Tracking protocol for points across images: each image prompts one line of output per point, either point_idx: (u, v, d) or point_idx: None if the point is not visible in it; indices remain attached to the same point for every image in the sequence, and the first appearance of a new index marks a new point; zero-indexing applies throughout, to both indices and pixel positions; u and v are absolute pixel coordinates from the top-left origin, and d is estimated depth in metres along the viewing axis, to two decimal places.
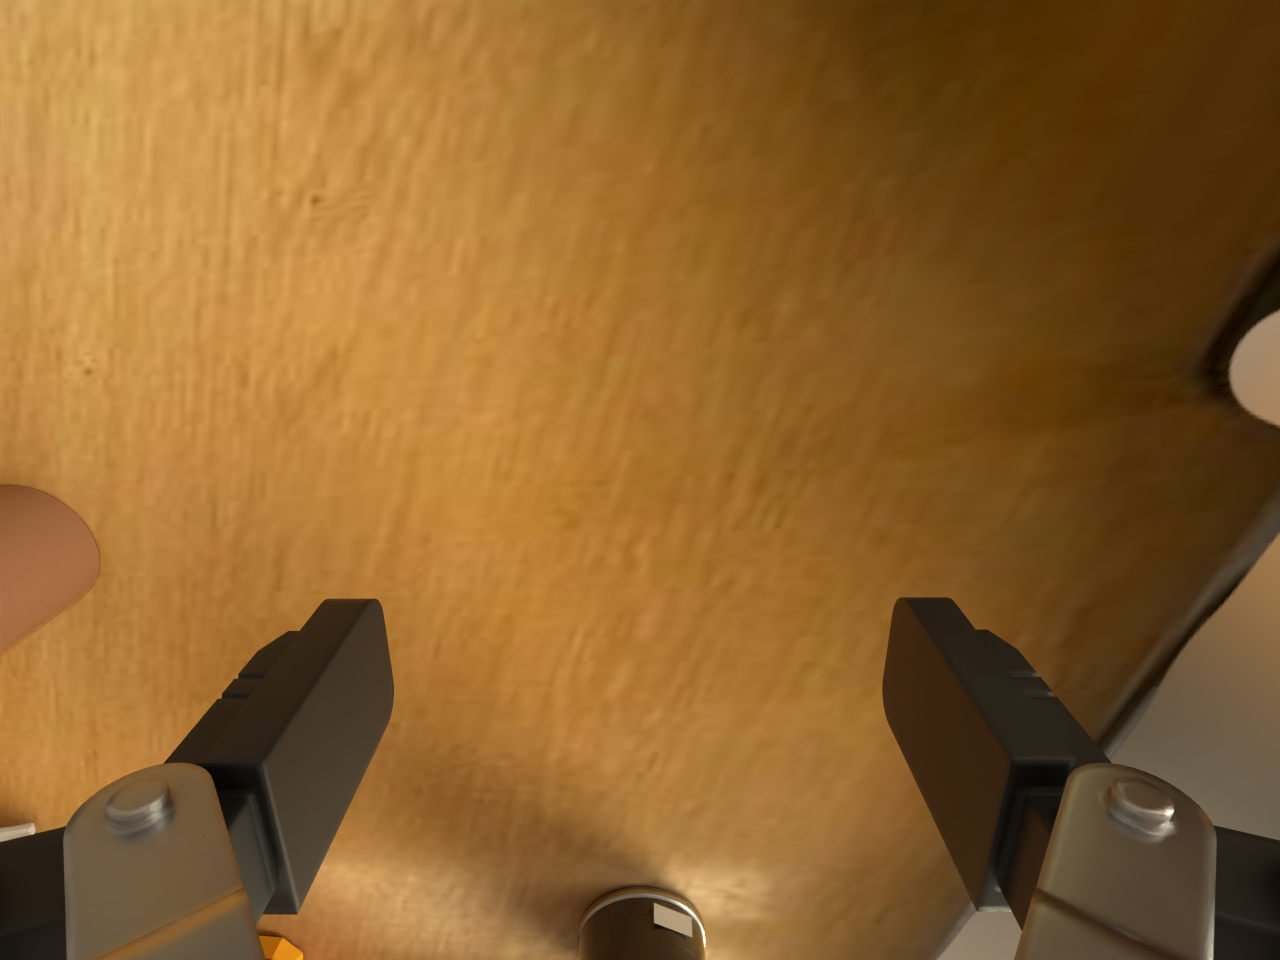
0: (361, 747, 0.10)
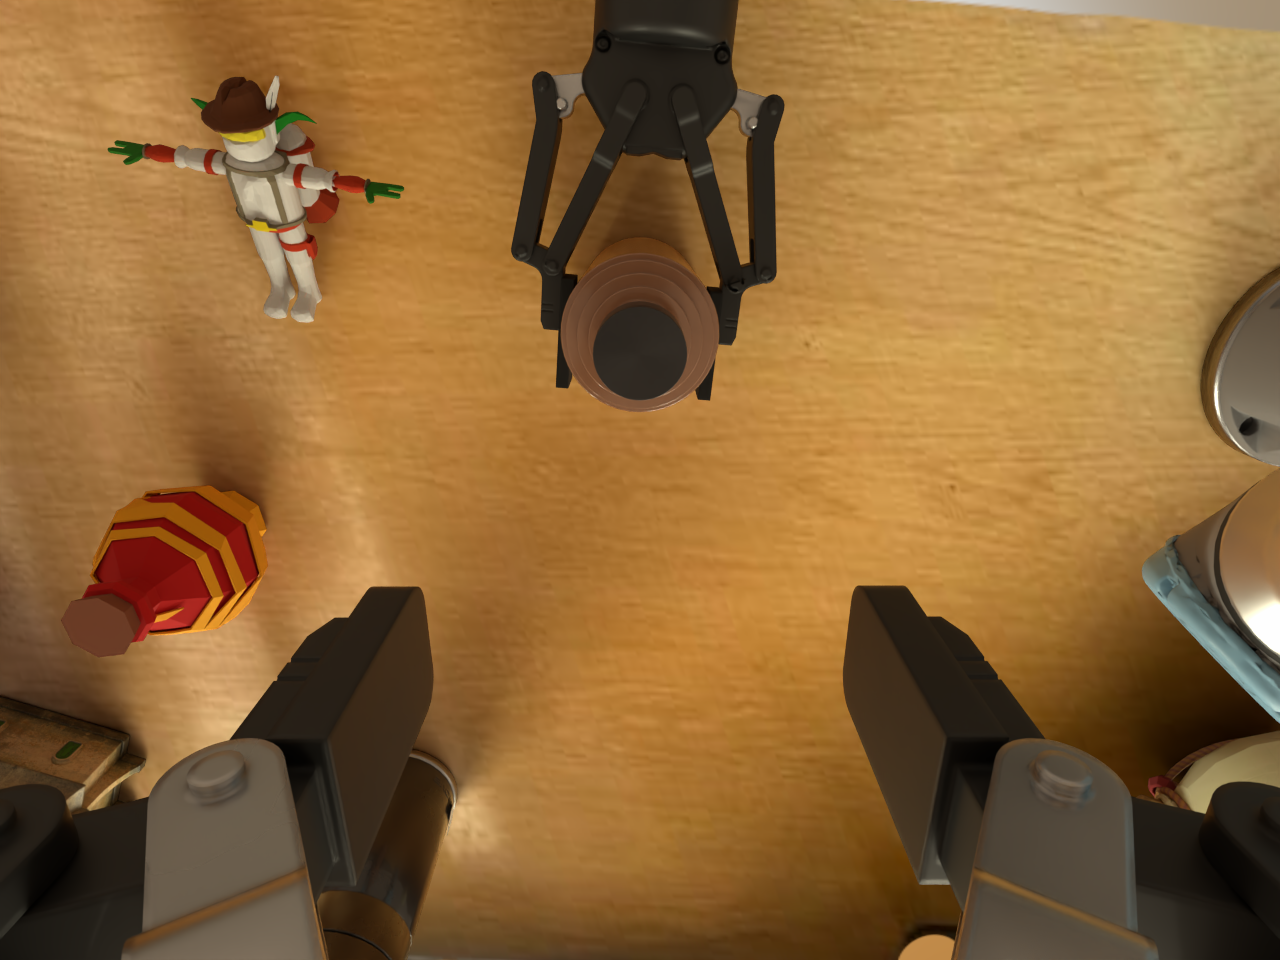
0: (406, 729, 0.11)
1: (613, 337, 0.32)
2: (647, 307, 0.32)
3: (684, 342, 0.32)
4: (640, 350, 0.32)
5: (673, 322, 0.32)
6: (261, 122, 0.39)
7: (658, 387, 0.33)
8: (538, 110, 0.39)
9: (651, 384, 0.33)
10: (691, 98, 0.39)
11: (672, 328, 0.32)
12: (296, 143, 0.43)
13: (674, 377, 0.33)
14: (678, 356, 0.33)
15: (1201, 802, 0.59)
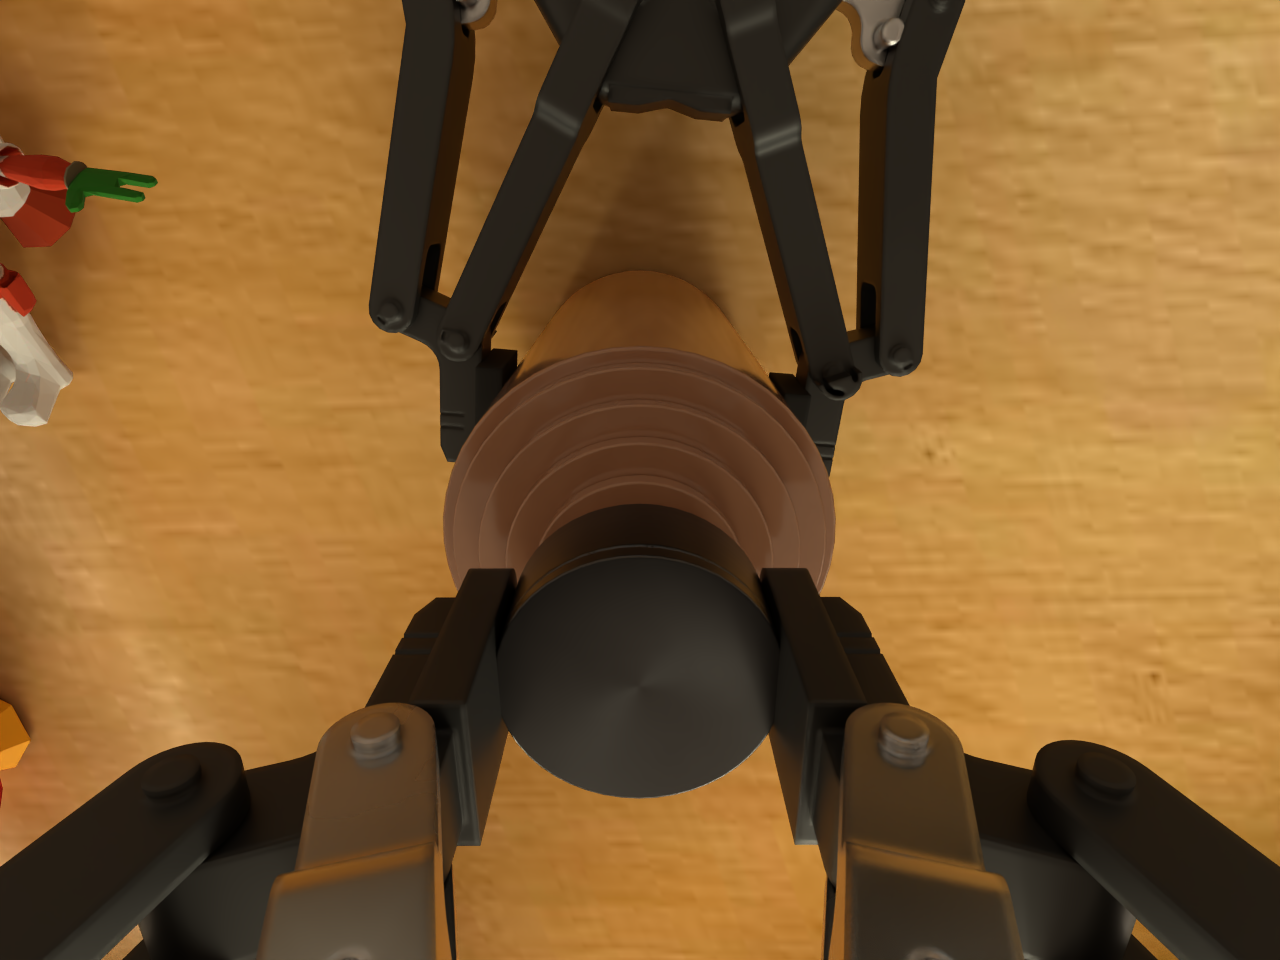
0: None
1: (556, 641, 0.10)
2: (663, 556, 0.10)
3: (778, 653, 0.10)
4: (641, 675, 0.10)
5: (746, 601, 0.10)
6: None
7: (694, 767, 0.11)
8: (409, 2, 0.17)
9: (673, 760, 0.11)
10: None
11: (742, 616, 0.10)
12: None
13: (743, 744, 0.11)
14: (758, 691, 0.11)
15: None
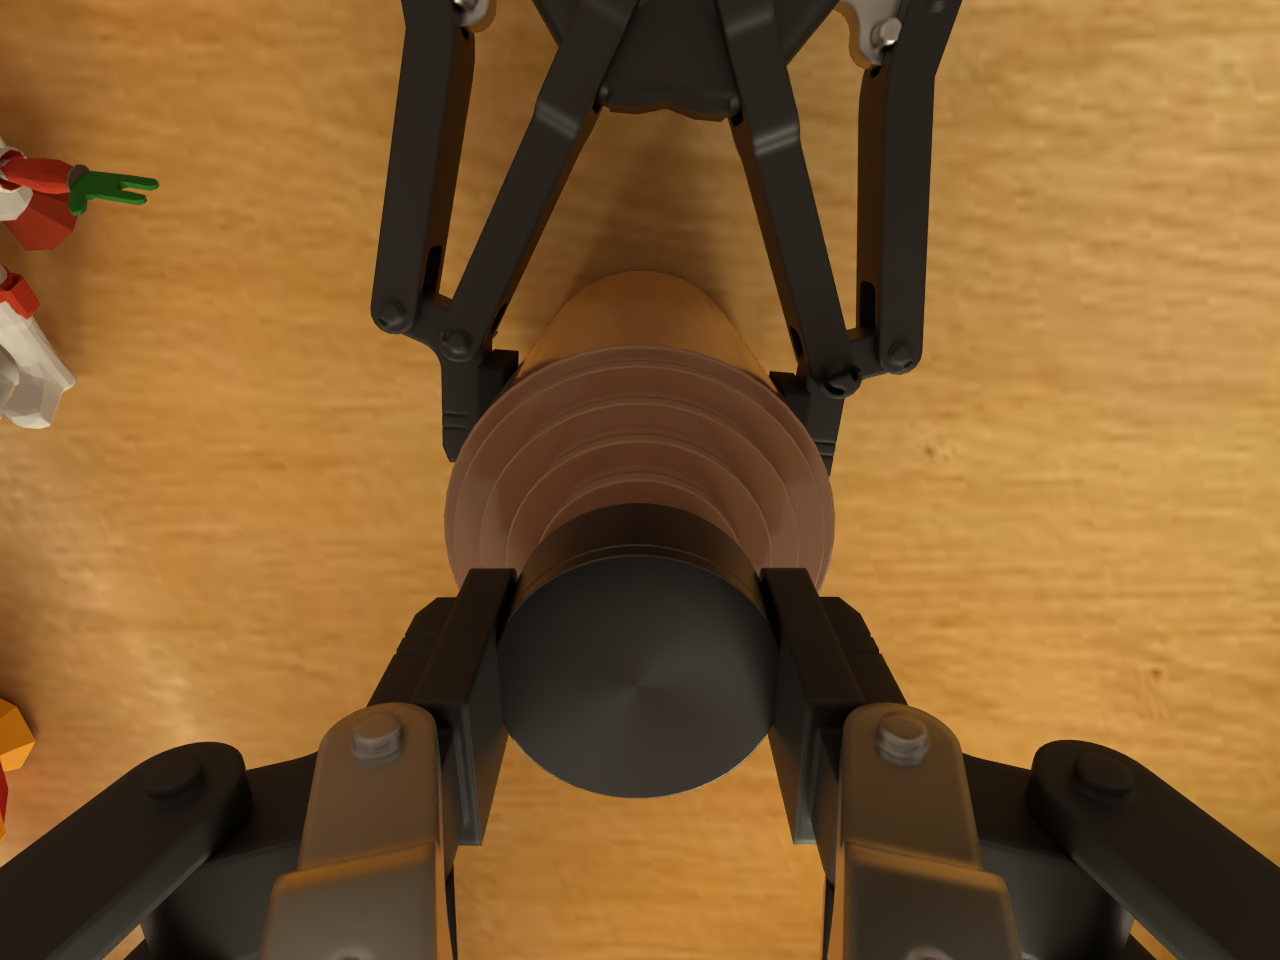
0: None
1: (613, 761, 0.11)
2: None
3: (554, 580, 0.10)
4: (624, 688, 0.11)
5: (506, 630, 0.10)
6: None
7: (721, 609, 0.10)
8: (409, 5, 0.17)
9: (718, 631, 0.10)
10: None
11: (526, 626, 0.10)
12: None
13: (673, 576, 0.10)
14: (603, 585, 0.10)
15: None
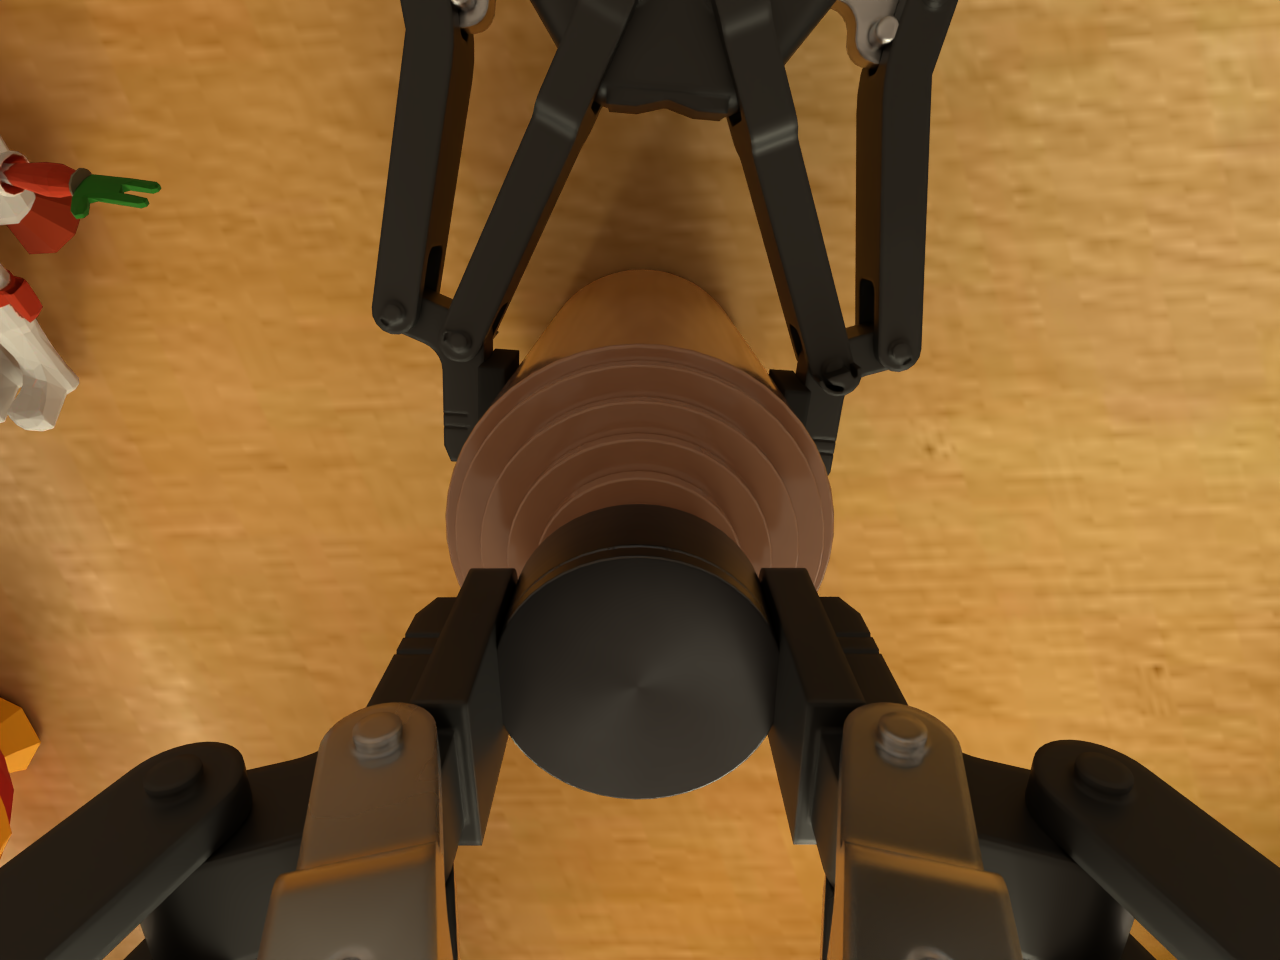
0: None
1: (735, 683, 0.10)
2: (700, 784, 0.11)
3: (555, 773, 0.11)
4: (644, 697, 0.11)
5: (616, 797, 0.11)
6: None
7: (526, 645, 0.10)
8: (408, 7, 0.18)
9: (550, 641, 0.10)
10: None
11: (608, 783, 0.11)
12: None
13: (508, 693, 0.11)
14: (542, 741, 0.11)
15: None
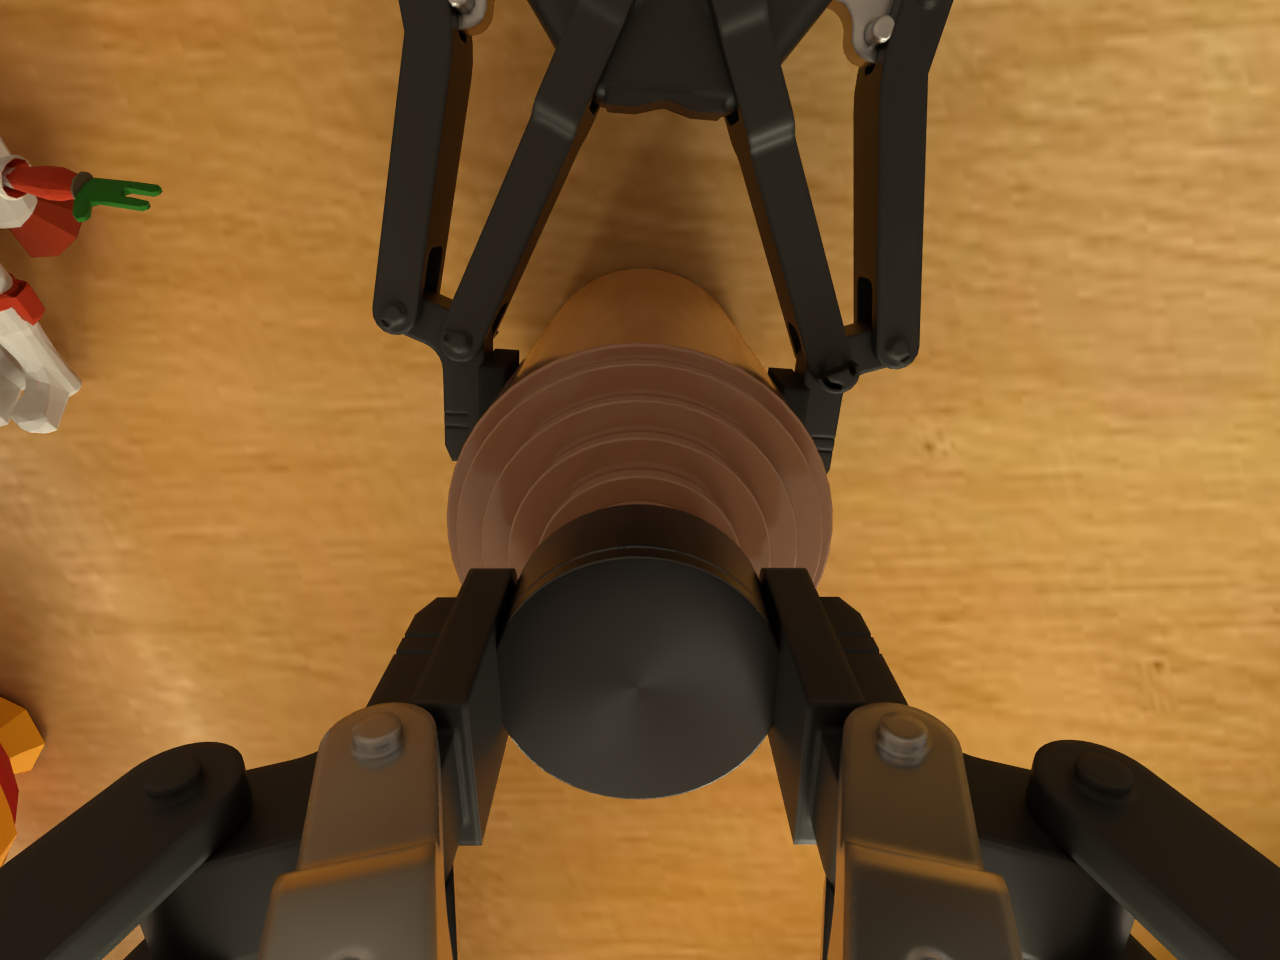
0: None
1: (600, 609, 0.10)
2: (743, 594, 0.10)
3: (768, 725, 0.11)
4: (646, 679, 0.10)
5: None
6: None
7: (626, 779, 0.11)
8: (407, 9, 0.18)
9: (614, 764, 0.11)
10: None
11: (766, 680, 0.10)
12: None
13: (682, 782, 0.11)
14: (729, 746, 0.11)
15: None
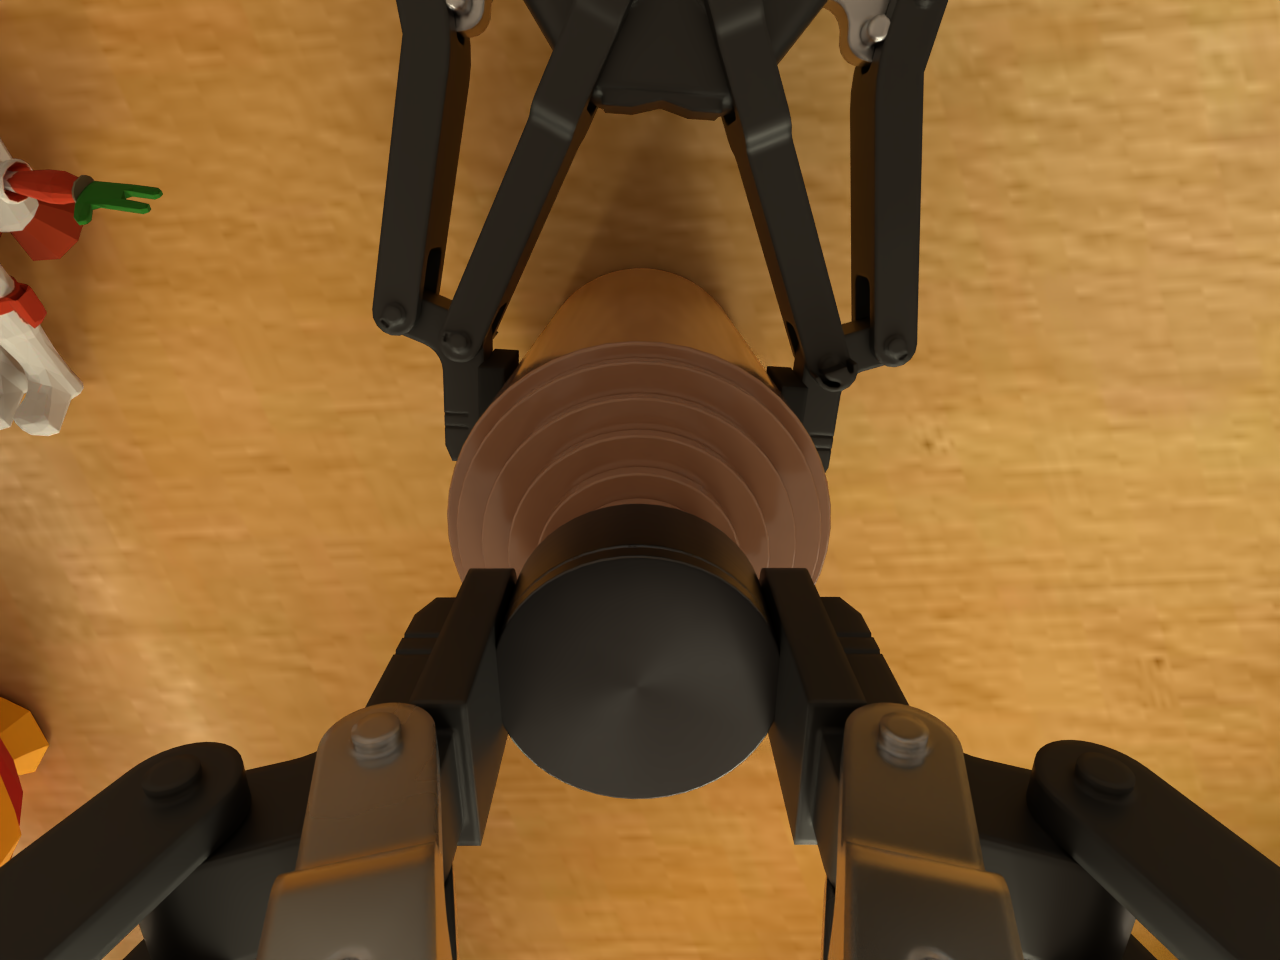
0: None
1: (564, 737, 0.11)
2: (503, 630, 0.10)
3: (640, 559, 0.10)
4: (624, 682, 0.10)
5: (566, 576, 0.10)
6: None
7: (754, 665, 0.10)
8: (405, 12, 0.18)
9: (738, 681, 0.10)
10: None
11: (585, 582, 0.10)
12: None
13: (740, 616, 0.10)
14: (678, 588, 0.10)
15: None
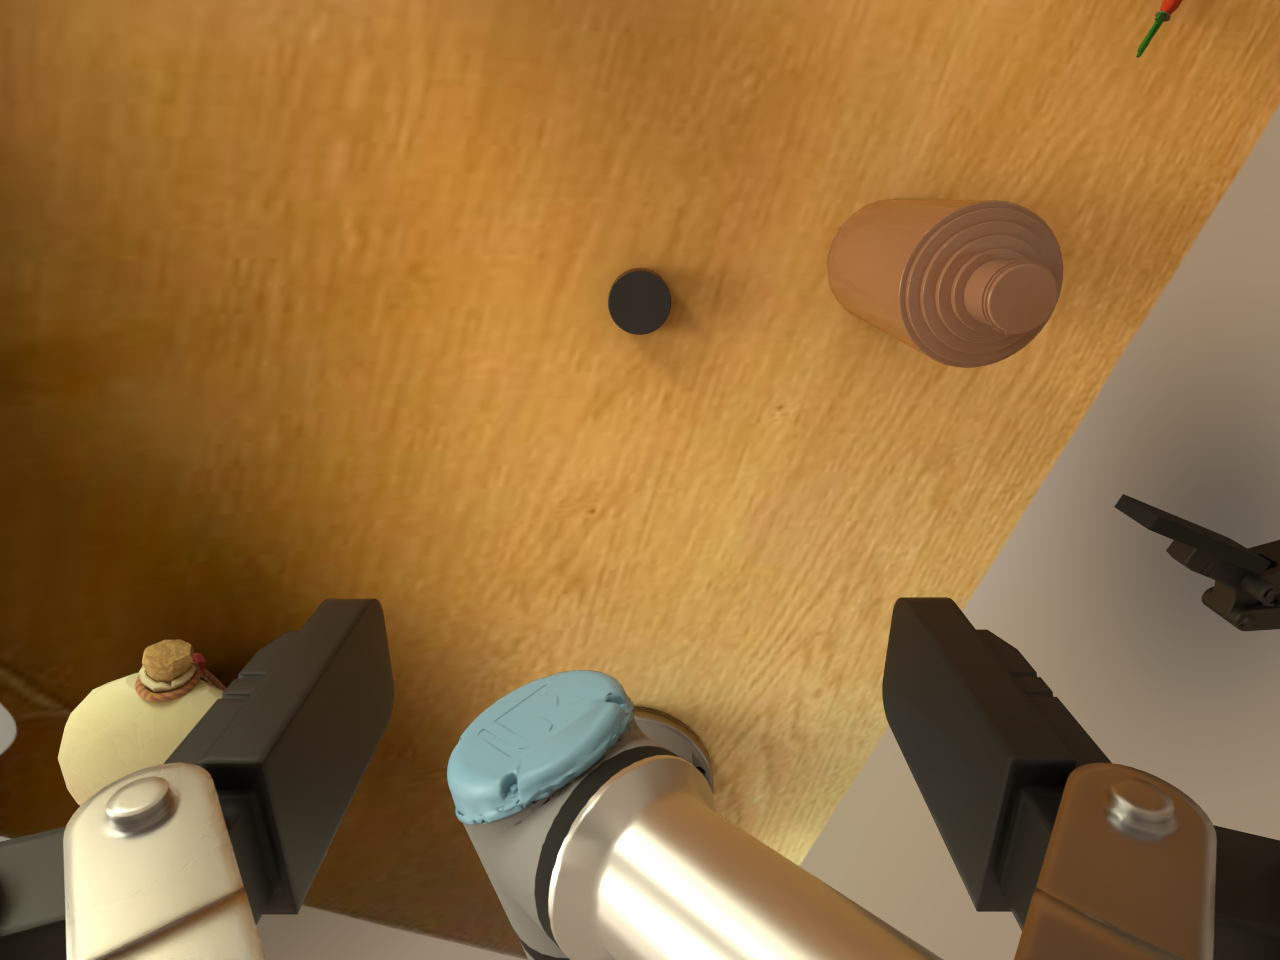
0: (360, 747, 0.10)
1: (623, 316, 0.49)
2: (611, 289, 0.49)
3: (640, 271, 0.48)
4: (636, 301, 0.49)
5: (625, 275, 0.48)
6: None
7: (664, 297, 0.49)
8: None
9: (661, 301, 0.49)
10: None
11: (629, 276, 0.48)
12: None
13: (661, 284, 0.49)
14: (648, 278, 0.48)
15: (195, 704, 0.56)
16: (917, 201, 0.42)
